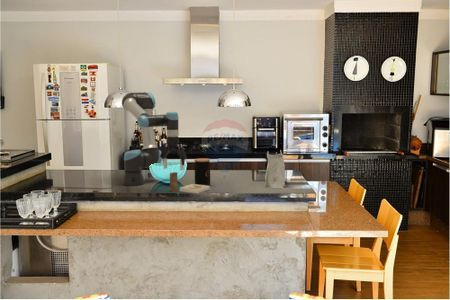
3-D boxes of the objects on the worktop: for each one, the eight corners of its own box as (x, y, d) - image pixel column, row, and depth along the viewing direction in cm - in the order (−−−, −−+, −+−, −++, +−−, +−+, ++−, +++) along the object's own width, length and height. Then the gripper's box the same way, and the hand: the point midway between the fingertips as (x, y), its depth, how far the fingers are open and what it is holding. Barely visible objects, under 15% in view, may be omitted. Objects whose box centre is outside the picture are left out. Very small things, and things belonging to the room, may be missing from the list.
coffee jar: (208, 187, 296) (208, 160, 294) (193, 186, 298) (192, 160, 296) (211, 184, 306) (211, 158, 304) (197, 183, 309) (196, 158, 306)
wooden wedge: (170, 191, 284) (169, 173, 282) (174, 190, 288) (174, 172, 286) (173, 192, 283) (172, 173, 281) (177, 190, 286) (177, 172, 285)
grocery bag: (265, 178, 325) (265, 147, 322) (284, 178, 324) (284, 147, 321) (264, 187, 294) (264, 153, 291) (285, 188, 292) (285, 153, 289)
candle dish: (179, 191, 284) (179, 187, 284) (192, 187, 296) (192, 183, 295) (197, 194, 277) (197, 189, 276) (209, 189, 288) (209, 185, 288)
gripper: (153, 136, 284) (154, 168, 286) (184, 137, 271) (185, 171, 273) (161, 135, 290) (162, 166, 293) (192, 136, 277) (192, 169, 280)
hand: (173, 169), depth 283 cm, fingers open, 13 cm apart
